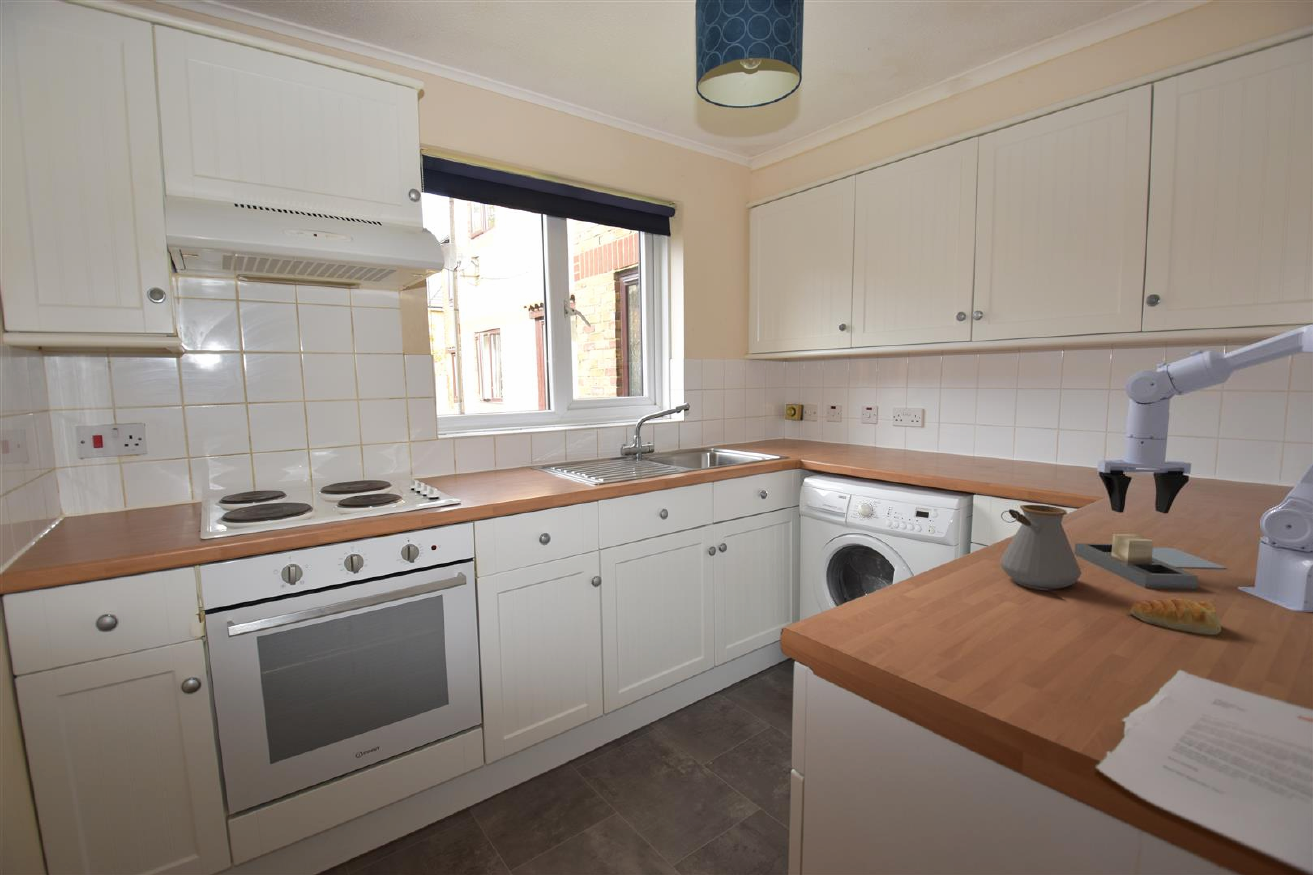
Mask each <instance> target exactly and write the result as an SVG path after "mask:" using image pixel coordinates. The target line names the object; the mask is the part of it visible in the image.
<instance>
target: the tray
mask: <svg viewBox="0 0 1313 875" xmlns="http://www.w3.org/2000/svg"><path fill="white" fill-rule="evenodd" d="M1073 554H1074V556H1075V557H1078V558H1080V559H1082V560H1085V561H1087V562H1089V563H1091V564H1094V565H1096V566H1098V567H1099V568H1102V569H1103V570H1106V571H1108V572H1110V573H1112V574H1114V575H1116V576H1118V577H1120V578H1122V579H1124V580H1127V581H1129V582H1131V583H1133V584H1135V585H1138V586H1140V587H1141V588H1144V589H1163V590H1164V589H1165V590H1166V589H1167V590H1170V589H1171V590H1197V588H1198V586H1197V585H1198V575H1196V574H1193V573H1192V572H1189V571H1186V570H1184V569H1182V568H1177V567H1174V566H1172V565H1169V564H1167V563H1164V562H1162V561H1159V560H1157V559H1154V558H1152V562H1151V563H1141V562H1125V561H1123V560H1121V559H1118V558H1116V557H1114V556H1111V554H1112V543H1084V542H1083V543H1082V542H1081V543H1080V542H1079V543H1077V542H1075V543H1074V552H1073Z"/></svg>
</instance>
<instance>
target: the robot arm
mask: <svg viewBox="0 0 1313 875" xmlns="http://www.w3.org/2000/svg"><path fill="white" fill-rule="evenodd" d="M1303 353H1304V354H1306V353H1307V354H1313V324H1309V325H1305V326H1301V327H1299V328H1296V329H1293V330H1290V331H1286V332H1284V333H1280V334H1278V335H1276V336H1273V337H1269V338H1267V339H1264V340H1260V341H1258V342H1256V343H1255V342H1254V343H1252V344H1249V345H1247V346H1244V347H1240V348H1238V349H1235V350H1231V351H1229V352H1227V353H1221V352H1219V351H1215V350H1207V351H1203V350H1199V349H1198V350H1195V351H1192V352H1190V356H1189V357H1186V358H1183V359H1179V360H1177V361H1173V362H1169V363H1168V364H1167V363H1165V362H1161V363H1159V364H1156V367H1157V369H1155V370H1153V369H1141V370H1140V371H1138V372H1136V373H1134V374H1132V375H1131V376H1130V377H1129V378H1128V379H1127V381H1126V383H1125V387H1124V389H1125V390H1124V391H1125V393H1126V395H1127V396H1128V397H1129V402H1128V404H1129V405H1128V411H1127V419H1126V420H1127V421H1126V431H1125V442H1124V443H1125V444H1124V445H1125V446H1124V453H1123V455H1124V456H1123V459H1114V460H1113V459H1112V460H1097V469H1096V471H1097V472H1098V476H1099V477H1100V480H1101V481H1102V484H1103V485H1104V487H1105V489H1106V491H1107V495H1108V498H1109V503H1110V508H1111V511H1113V512H1116V513H1118V514H1119V513H1120V514H1121V513H1124V511H1125V508H1126V500H1127V499H1126V498H1127V493H1128V489H1129V485H1130V484H1131V481H1132V479H1133V478H1132V476H1127V475H1126V473H1148V474H1149V473H1152V475H1153V479H1154V485H1155V502H1154V503H1155V504H1154V506H1155V512H1158V513H1161V514H1169V511H1170V510H1171V507H1172V505H1173V504H1174V500H1175V499H1176V497H1177V495H1178V494H1179V492H1180V491H1181V490H1182V488H1183V487H1184V486H1185V485H1186V484H1187V483H1188V482H1189V481H1190V475H1191V470H1192V463H1191V462H1186V461H1174V460H1173V461H1172V460H1166V456H1167V443H1168V436H1169V435H1168V433H1169V432H1168V431H1169V423H1170V404H1171V399H1172V398H1174V396H1182V395H1186V394H1189V393H1192V392H1196V391H1200V390H1203V389H1207V388H1210V387H1213V386H1216V385H1220V384H1224V383H1226V382H1228V380H1229V378H1230V377H1231V375H1232V374H1233V373H1234V372H1236V371H1240V370H1243V369H1247V368H1250V367H1254V366H1258V365H1262V364H1265V363H1270V362H1273V361H1277V360H1280V359H1283V358H1287V357H1292V356H1294V355H1298V354H1303ZM1188 474H1189V475H1188ZM1259 524H1260V525H1259V526H1260V530H1261V531H1262V534H1263V535H1262V536H1260V540H1259V545H1258V547H1259V548H1258V555H1257V563H1256V573H1255V581H1254V586H1238V587H1237V589H1238V590H1240V591H1242V592H1245V593H1248V594H1250V595H1252V596H1256V597H1257V598H1260V599H1262V600H1265V601H1267V602H1269V603H1272V604H1275V605H1277V606H1280V607H1283V608H1285V609H1286V610H1287V609H1288V610H1291V611H1294V612H1297V613H1298V612H1300V613H1301V612H1302V613H1303V612H1304V613H1313V462H1312V463H1311V464H1310V466H1309V467H1308V468H1307V469H1306V471H1305V473H1304V474H1303V476H1301V478H1300V480H1299V481H1298V482H1297V484H1296V485H1295V486H1294V487H1293V488H1292V490H1290V492H1289V493H1288V494H1286V497H1285V498H1284V499H1283V500H1282V502H1280V503H1279V504H1278V505H1276V506H1274V507H1272V508H1270V509H1268V510H1266V511H1265V512H1264V513H1263V515H1262V516H1261V518H1260V522H1259Z"/></svg>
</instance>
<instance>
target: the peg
mask: <svg viewBox="0 0 1313 875" xmlns="http://www.w3.org/2000/svg"><path fill="white" fill-rule="evenodd" d="M1111 544H1112V554H1111V556H1114V557H1116V558H1118V559H1121V560H1123V561H1125V562H1141V563H1151V562H1152V552H1153V548H1154V540H1152V539H1149V538H1146V537H1144V536H1141V535H1138V534H1128V533H1127V534H1126V533H1123V534H1122V533H1121V534H1119V533H1114V534H1112V543H1111Z"/></svg>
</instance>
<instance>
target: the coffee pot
mask: <svg viewBox="0 0 1313 875" xmlns="http://www.w3.org/2000/svg"><path fill="white" fill-rule="evenodd" d="M1019 508H1020V510H1022V512H1023V514H1022V513H1020V511H1018V510H1014V509H1009V510H1004V511H1003V512H1002V513H1001V514H1000V516H1001V519H1002V521H1004V522H1006V523H1014V522H1018V523H1020V524H1021V525H1020V526H1019V528H1018V530H1017V531H1016V533H1015V535H1014V536H1013V538H1012V539H1011V541H1010V543H1009V545H1008V546H1007V548H1006V550H1005V551H1004V553H1003V554H1002V556H1001V558H1000V560H999V561H1000V565H1001V568H1002V570H1003V571H1004V572H1005V574H1006V575H1008V576H1009V577H1010V578H1011V580H1012V581H1013V582H1014V583H1016V584H1018V585H1020V586H1023V587H1026V588H1030V589H1034V590H1039V591H1046V592H1047V591H1048V592H1049V591H1050V592H1052V590H1059V589H1064V588H1066V587H1069V586H1071V585H1074V584H1076V583H1077V582H1078V580H1079V579H1080V577H1081V575H1082V571H1081V568H1080V566H1079V563H1078V561H1077V558H1076V555H1074V552H1073V549H1072V546H1071V543H1070V542H1069V540H1068V537H1067V535H1066V532H1065V530H1064V526H1063V524H1062V522H1063V518H1064V516H1065V515H1067V514H1068V511H1067V510H1066V509H1063V508H1059V507H1056V506H1050V505H1043V504H1041V505H1040V504H1022V505H1020V506H1019ZM1004 513H1009V515H1010V517H1011V518H1012V519H1014V520H1012V521H1008V520H1005V518H1003V515H1004Z"/></svg>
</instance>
